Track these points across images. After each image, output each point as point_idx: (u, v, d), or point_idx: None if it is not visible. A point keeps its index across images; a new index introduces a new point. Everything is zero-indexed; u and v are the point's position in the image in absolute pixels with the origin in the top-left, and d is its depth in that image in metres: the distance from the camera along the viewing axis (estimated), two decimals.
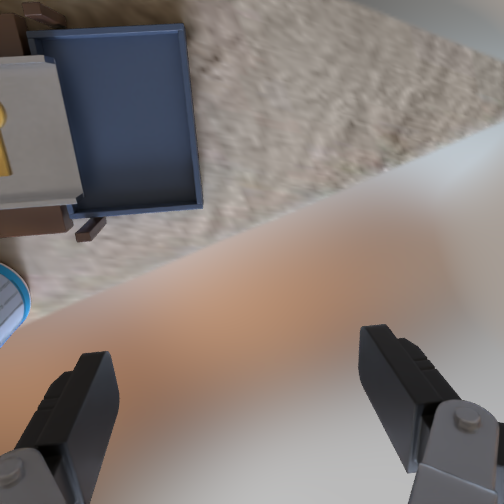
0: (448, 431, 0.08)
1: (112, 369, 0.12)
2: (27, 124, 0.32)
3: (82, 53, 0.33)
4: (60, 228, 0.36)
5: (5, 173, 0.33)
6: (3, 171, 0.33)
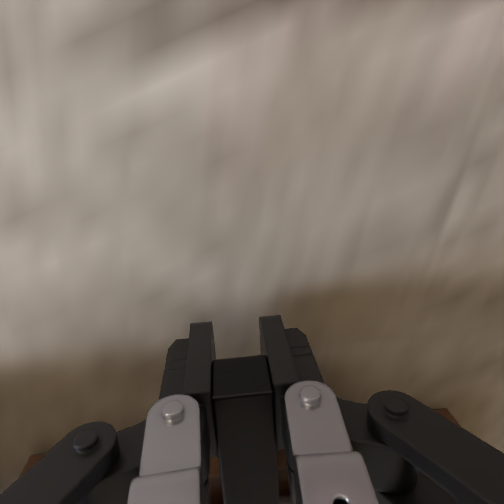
0: (301, 415, 0.09)
1: None
2: None
3: None
4: None
5: None
6: None
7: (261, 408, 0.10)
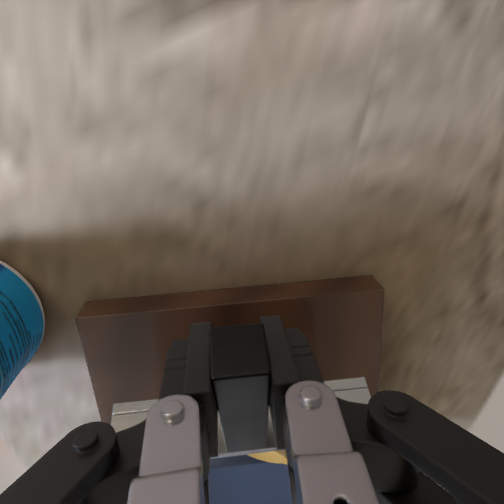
0: (301, 414, 0.09)
1: None
2: None
3: None
4: None
5: None
6: None
7: (258, 383, 0.11)
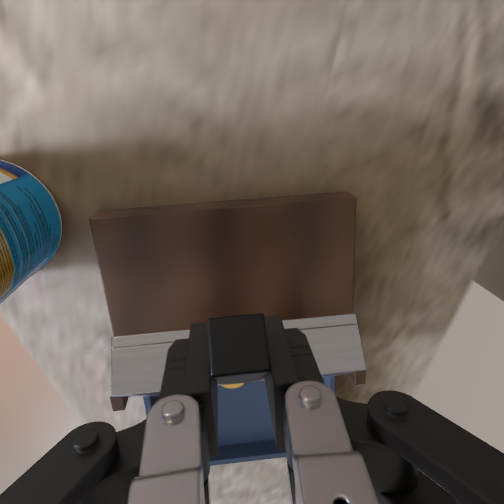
0: (301, 415, 0.09)
1: None
2: None
3: None
4: None
5: None
6: None
7: (257, 374, 0.11)
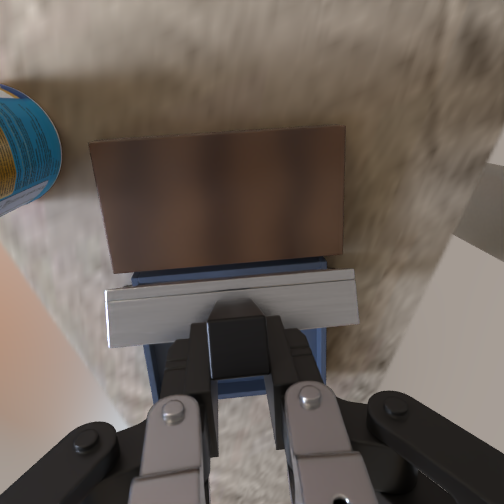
0: (301, 415, 0.09)
1: None
2: None
3: None
4: (118, 268, 0.29)
5: None
6: None
7: None
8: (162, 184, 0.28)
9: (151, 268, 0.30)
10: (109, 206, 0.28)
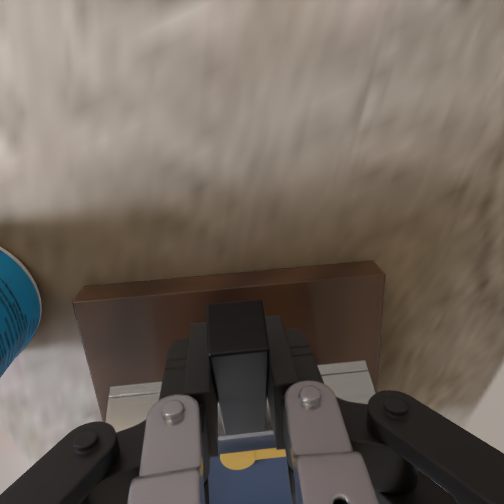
0: (301, 414, 0.09)
1: None
2: None
3: None
4: None
5: None
6: None
7: (256, 360, 0.10)
8: (163, 342, 0.23)
9: None
10: (99, 367, 0.23)
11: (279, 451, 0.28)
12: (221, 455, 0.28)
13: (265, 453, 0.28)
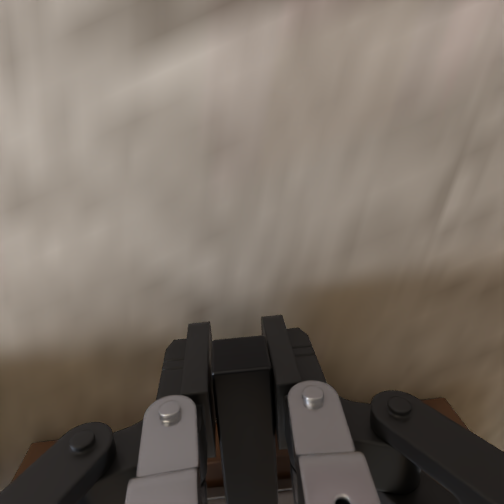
0: (304, 414, 0.09)
1: None
2: None
3: None
4: None
5: None
6: None
7: (259, 384, 0.10)
8: None
9: None
10: None
11: None
12: None
13: None
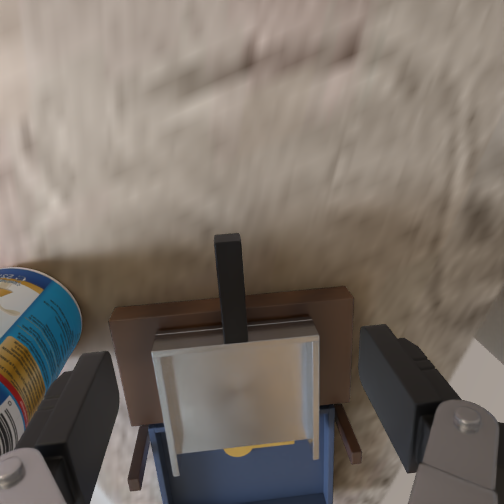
0: (448, 431, 0.08)
1: (112, 369, 0.12)
2: (253, 414, 0.31)
3: None
4: (136, 422, 0.31)
5: None
6: None
7: (235, 249, 0.24)
8: None
9: None
10: (128, 372, 0.29)
11: None
12: None
13: None
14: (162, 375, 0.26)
